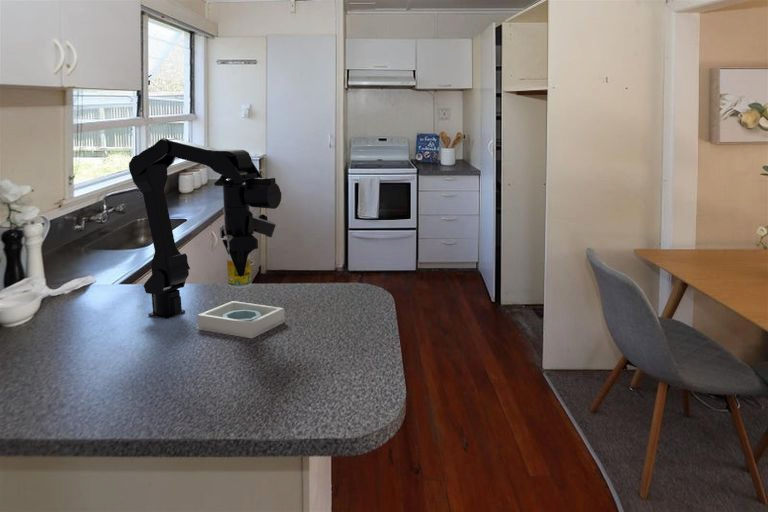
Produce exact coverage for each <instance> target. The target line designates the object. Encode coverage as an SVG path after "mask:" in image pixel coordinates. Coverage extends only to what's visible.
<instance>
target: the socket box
mask: <svg viewBox="0 0 768 512" xmlns="http://www.w3.org/2000/svg"><path fill="white" fill-rule="evenodd" d="M197 322H198V323H197V324H198V330H201V331H207V332H212V333H217V334H218V333H219V334H223V335H230V336H236V337H241V338H248V339H254V338H255V337H257V336H260V335H261V334H265V333H266V332H267V331H271V330H272V329H274V328H276V327H278V326H279V325H281V324H284V323H285V308H284V307H278V306H271V305H264V304H257V303H256V304H255V303H250V302H243V301H236V300H232V301H229V302H226V303H224V304H222V305H219V306H216V307H214V308H211V309H209V310H207V311H204V312H201V313H199V314H197Z"/></svg>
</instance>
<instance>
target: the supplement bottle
mask: <svg viewBox="0 0 768 512" xmlns="http://www.w3.org/2000/svg"><path fill="white" fill-rule="evenodd" d="M251 264H252V262H251V255H250V254H249V255H248V258H247V262H246V267H245V272H244V276H239V275H238V273H237V270H236V268H235V266H234V263H233V261H232V259H231V256H230V254H229V255H228V254H227V257H226V266H227V267H226V268H227V284H228V287H230V288H231V289H246V288H249V287H251V286H252V265H251Z"/></svg>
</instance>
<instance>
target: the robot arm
mask: <svg viewBox="0 0 768 512" xmlns="http://www.w3.org/2000/svg"><path fill="white" fill-rule="evenodd" d="M176 159H180V160H184V161H188V162H192V163H196V164H199V165H203V166H206V167H209V168H210V169H211V170H212V171H213V172H214V173H217V174H218V175H220V177H219V178H218V179H217V180H216V181H215V182H214V186H217V187H222V197H223V200H222V201H223V209H222V214H223V216H224V217H223V219H224V222H223V223H224V224H223V225H222V226H220V228H219V237H220V238H221V239H222V240H221V242H222V244H223V246H224V248H225V250H226V253H227V256H228V255H229V254H230V256H231V259H232V261H233V263H234V266H235V268H236V270H237V273H238V275H239V276H244V272H245V267H246V262H247V258H248V255H250V253H252V252H253V251H254V250H256V249H259V240H258V238H257V237H255V236H254V233H258V234H261V235H263V236H264V235H265V236H266V237H268V238H272V237H273V235H274V232H275V229H276V226H277V225H276V223H274V222H273V221H271V220H268V215H267V214H263V213H260V212H259V214H258V215H257V216H255V215H253V211H251V210H250V209H251V208H255V209H257V208H258V209H271V210H272V209H273V210H276V209H277V208H278V207H279V206H280V204H281V201H282V191H281V189H280V186H279V184H278V183H276V181H277V180H276V177H263V176H262V174H261V173H260V172H259V170H258V169H257V167H256V165H255V163H254V162H253V159H252V156H251V155H250V153H249V152H248V150H247V151H246V150H245V149H231V148H230V149H220V148H219V149H218V148H214V147H209V146H205V145H202V144H199V143H198V144H196V143H193V142H189V141H186V140H185V141H184V140H181V139H178V138H177V137H162V138H161V139H159V140H157V142H156V143H155V144H153V145H151V146H150V147H148V148H146V149H145V150H143V151H141V152H140V153H138V154H136V155H134V156H132V158H131V160H130V161H129V162H128V169H129V173H130V176H131V178H132V181H133V183H134V185H135V186H136V188H137V189H138V190H139V191H140V192H141V193H142V197H143V201H144V206H145V210H146V211H145V212H146V215H147V221H148V225H149V229H150V234H151V239H152V244H153V249H154V252H153V253H154V254H153V256H152V261H151V264H150V265H151V275H150V277H148V279H147V280H146V281H145V282H144V283H143V288H144V291H145V293H146V294H147V295H148V294H149V295H151V301H152V302H151V304H152V306H151V307H152V311H151V312H149V313H148V317H153V318H154V317H155V318H161V319H168V320H169V319H171V318H174V317H176V316H179V315H181V314H182V315H183V313H184V314H185V313H186V309H183V307H182V296H181V293H180V289H181V288H185V284H186V281H187V279H188V277H189V276H190V275H189V273H190V271H189V270H191V267H190V265H189V262H188V255H187V253H181V252H180V251H179V249H178V248H177V245H176V242H175V236H174V232H173V228H172V223H171V217H170V213H169V208H168V202H167V198H166V194H165V188H166V185H167V182H168V168H169V167H171V166H172V165H173V164H174V162H175V160H176ZM224 237H225V238H224Z"/></svg>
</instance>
